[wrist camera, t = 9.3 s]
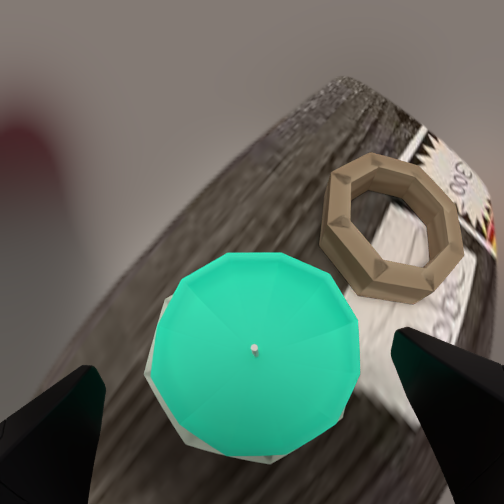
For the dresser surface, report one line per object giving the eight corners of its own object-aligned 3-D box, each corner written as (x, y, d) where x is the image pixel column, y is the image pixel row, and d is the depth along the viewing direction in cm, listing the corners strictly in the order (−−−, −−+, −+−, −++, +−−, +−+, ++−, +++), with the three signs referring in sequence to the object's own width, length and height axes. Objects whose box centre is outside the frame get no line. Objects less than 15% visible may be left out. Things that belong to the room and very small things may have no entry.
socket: (460, 251, 19) (479, 235, 16) (384, 331, 17) (404, 322, 14) (382, 163, 23) (392, 141, 21) (292, 214, 21) (296, 190, 18)
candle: (257, 302, 18) (252, 183, 7) (325, 363, 16) (430, 330, 5) (192, 365, 16) (81, 336, 6) (259, 430, 15) (255, 520, 4)
